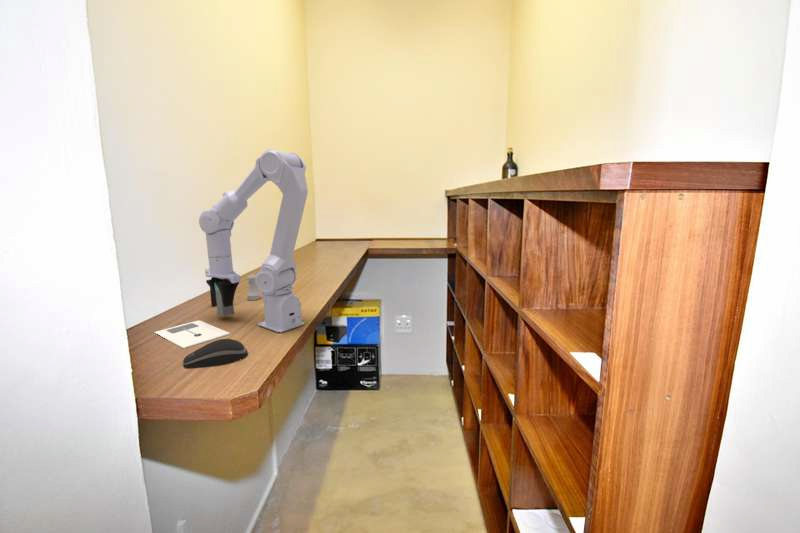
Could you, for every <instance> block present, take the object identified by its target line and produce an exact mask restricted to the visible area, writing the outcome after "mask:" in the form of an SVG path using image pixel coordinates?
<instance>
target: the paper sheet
mask: <svg viewBox="0 0 800 533" xmlns="http://www.w3.org/2000/svg"><path fill="white" fill-rule="evenodd" d="M153 333H154V334H155V333H156V334H155V335H157V334H158V335H160V336H161V337H160V336H159V337H160V338H162V337H163V338H162V339H164V338H165V339H164V340H166V341H168V342H170V343H172V344H174V345H175V346H178V347H179V348H181V349H184V350H185V349H188V348H191V347H195V346H197V345H201V344H203V343H207V342H210V341H215V340H218V339H219V338H220V339H221V338H222V337H226V336H230V335H231V333H230V332H229V331H227V330H224V329H222V328H219V327H216V326H213V325H211V324H209V323H206V322H204V321H202V320H200V319H199V320H198V319H197V320H195V321H191V322H188V323H183V324H179V325H176V326H172V327H167V328H165V329H161V330H157V331H153ZM158 335H157V336H158Z"/></svg>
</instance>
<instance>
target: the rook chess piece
mask: <svg viewBox="0 0 800 533" xmlns="http://www.w3.org/2000/svg"><path fill="white" fill-rule="evenodd" d="M256 275H257V274H256V273H251V274H248V275H247V277H246V279H247V280H248V281H247V284H248V291H247V293H246V296H247V297H246V299H247V300H248V301H257V300H261V297H262V296H261V295H262V293H261V292H260V291H259V289H258V288H257V286H256V282H255V279H256Z"/></svg>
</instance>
